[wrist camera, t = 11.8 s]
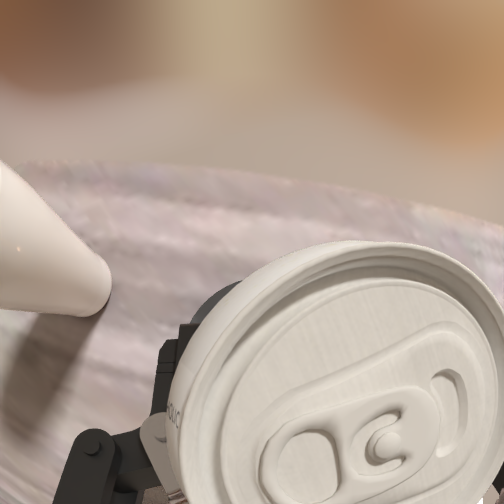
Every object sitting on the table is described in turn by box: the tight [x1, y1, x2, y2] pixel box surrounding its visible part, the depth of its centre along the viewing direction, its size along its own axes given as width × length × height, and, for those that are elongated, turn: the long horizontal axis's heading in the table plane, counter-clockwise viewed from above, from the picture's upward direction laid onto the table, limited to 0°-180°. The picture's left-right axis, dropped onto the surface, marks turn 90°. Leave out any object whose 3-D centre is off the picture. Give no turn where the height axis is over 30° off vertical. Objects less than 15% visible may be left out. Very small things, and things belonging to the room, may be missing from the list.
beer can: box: [166, 240, 504, 504], centre depth 10 cm, size 6×6×15 cm
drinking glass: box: [0, 159, 112, 317], centre depth 15 cm, size 7×7×15 cm
